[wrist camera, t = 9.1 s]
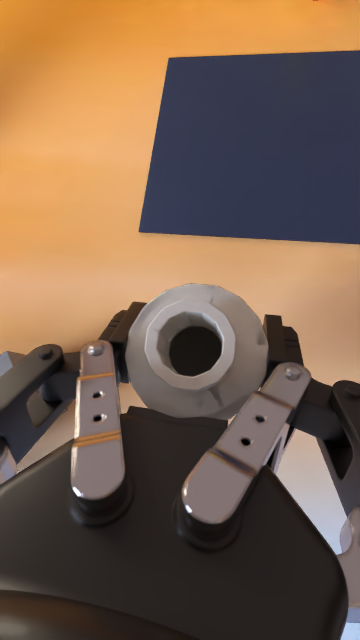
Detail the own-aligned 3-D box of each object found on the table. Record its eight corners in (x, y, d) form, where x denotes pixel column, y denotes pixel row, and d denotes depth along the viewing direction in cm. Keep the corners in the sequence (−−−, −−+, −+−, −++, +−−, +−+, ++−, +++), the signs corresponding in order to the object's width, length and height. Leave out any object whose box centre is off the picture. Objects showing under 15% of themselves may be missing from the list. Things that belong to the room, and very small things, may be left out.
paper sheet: (139, 232, 30) (138, 231, 29) (169, 59, 34) (168, 57, 34) (373, 245, 26) (374, 243, 26) (374, 51, 31) (375, 49, 30)
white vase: (154, 407, 20) (95, 417, 11) (167, 318, 21) (123, 259, 12) (247, 421, 19) (269, 444, 10) (255, 327, 20) (281, 270, 11)
